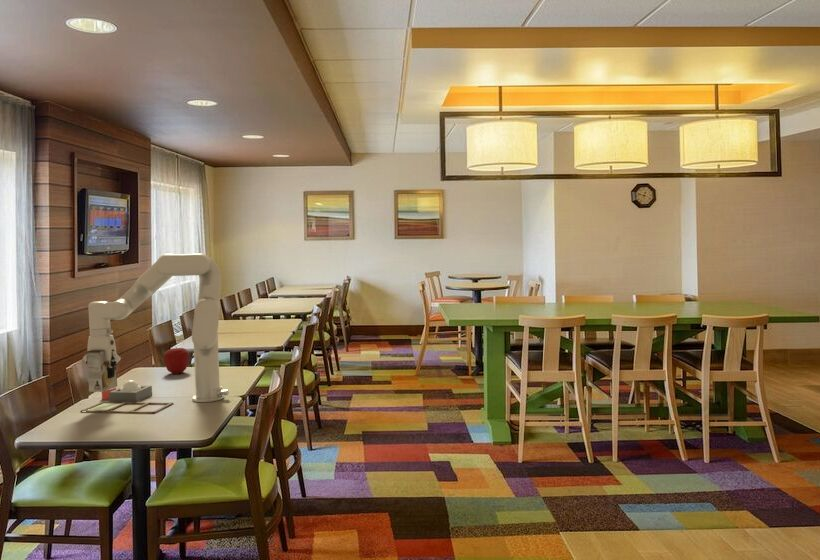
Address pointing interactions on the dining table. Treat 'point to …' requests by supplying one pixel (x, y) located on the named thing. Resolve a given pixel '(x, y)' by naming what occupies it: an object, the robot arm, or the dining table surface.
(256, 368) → the dining table surface
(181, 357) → the apple
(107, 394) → the red die
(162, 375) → the dining table surface
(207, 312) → the robot arm
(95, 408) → the frame
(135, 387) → the dome
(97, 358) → the coffee box
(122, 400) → the dome housing
